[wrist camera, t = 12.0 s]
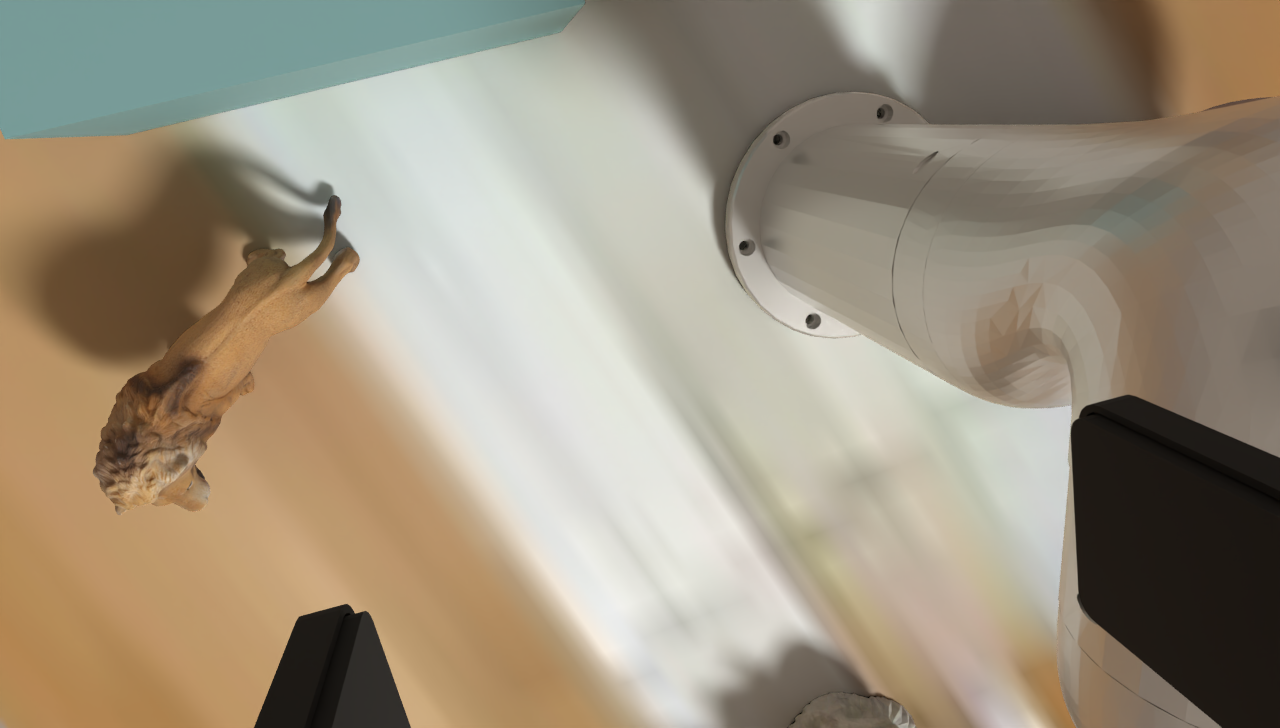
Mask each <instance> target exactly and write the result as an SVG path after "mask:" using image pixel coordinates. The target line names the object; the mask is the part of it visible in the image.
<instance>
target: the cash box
mask: <svg viewBox="0 0 1280 728" xmlns="http://www.w3.org/2000/svg"><path fill="white" fill-rule="evenodd" d="M584 4H585V0H0V129H1V131H2V134H3V136H4V138H5V139H24V138H54V137H84V136H114V135H129V134H133V133H137V132H142V131H146V130H150V129H154V128H159V127H163V126H167V125H171V124H175V123H180V122H184V121H188V120H192V119H196V118H201V117H205V116H209V115H213V114H218V113H222V112H226V111H230V110H234V109H239V108H243V107H247V106H251V105H256V104H260V103H264V102H268V101H272V100H277V99H281V98H285V97H289V96H294V95H298V94H302V93H306V92H310V91H315V90H319V89H323V88H327V87H331V86H336V85H340V84H344V83H348V82H353V81H357V80H361V79H365V78H369V77H374V76H378V75H382V74H386V73H391V72H395V71H399V70H403V69H407V68H412V67H416V66H420V65H424V64H429V63H433V62H437V61H441V60H445V59H450V58H454V57H458V56H462V55H467V54H471V53H475V52H479V51H483V50H488V49H492V48H496V47H500V46H504V45H509V44H513V43H517V42H521V41H526V40H530V39H534V38H538V37H542V36H547V35H551V34H555V33H559V32H561V31H562V30H563V29H564V28H565V27H566V25H567V24H568V23H569V22H570V21H571V20H572V18H573V17H574V16H575V15H576V14H577V12H578V11H579V10H580V9H581V8H582V7H583V5H584Z"/></svg>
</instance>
